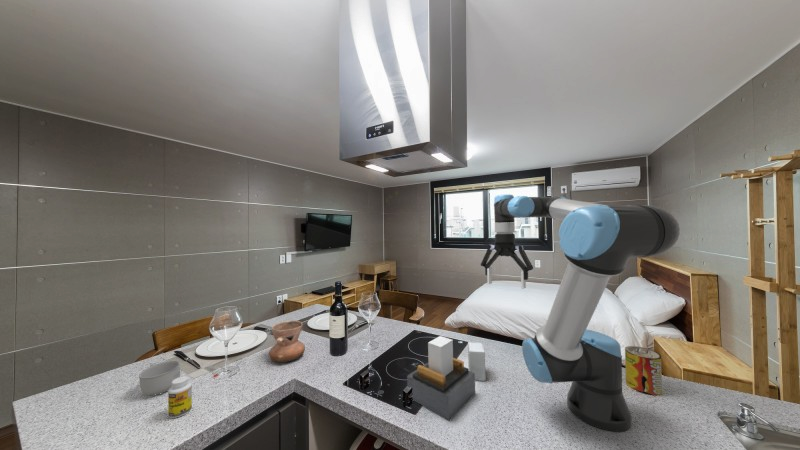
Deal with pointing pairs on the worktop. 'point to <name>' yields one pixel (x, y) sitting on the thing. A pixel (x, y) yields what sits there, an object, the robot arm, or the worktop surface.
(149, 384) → the gray oval bowl
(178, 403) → the supplement bottle
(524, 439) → the worktop surface
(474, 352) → the small box
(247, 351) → the worktop surface
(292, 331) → the ceramic jug
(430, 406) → the grey fixture base
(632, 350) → the beverage can
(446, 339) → the block
